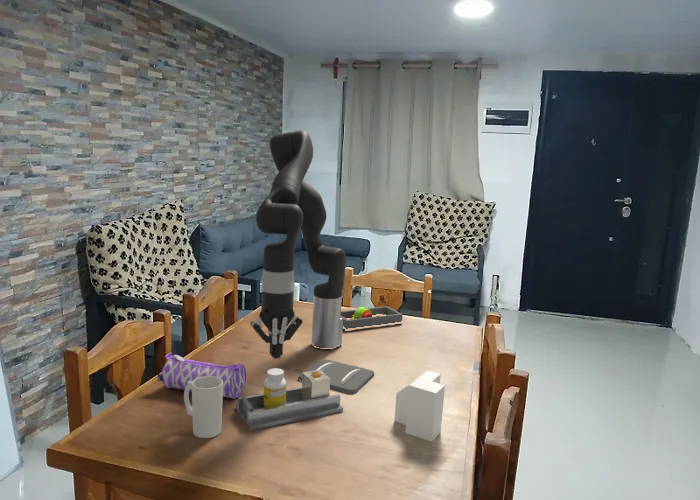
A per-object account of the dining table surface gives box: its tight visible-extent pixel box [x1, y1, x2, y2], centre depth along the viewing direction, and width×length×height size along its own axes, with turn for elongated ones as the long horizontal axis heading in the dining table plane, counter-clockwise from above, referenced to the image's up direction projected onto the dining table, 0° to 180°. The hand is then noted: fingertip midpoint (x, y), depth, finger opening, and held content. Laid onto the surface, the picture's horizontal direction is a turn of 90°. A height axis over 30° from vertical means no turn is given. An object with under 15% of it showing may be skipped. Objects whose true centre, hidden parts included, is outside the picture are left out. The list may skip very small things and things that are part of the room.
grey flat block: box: [297, 358, 375, 395], centre depth 156 cm, size 18×3×15 cm
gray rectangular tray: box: [341, 305, 403, 329], centre depth 205 cm, size 24×11×4 cm, turn 119°
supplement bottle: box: [263, 367, 287, 408], centre depth 133 cm, size 5×5×10 cm
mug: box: [183, 376, 224, 439], centre depth 123 cm, size 10×7×12 cm, turn 64°
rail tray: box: [235, 370, 344, 432], centre depth 135 cm, size 24×12×9 cm, turn 119°
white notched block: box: [394, 370, 446, 442], centre depth 131 cm, size 11×11×12 cm
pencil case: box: [157, 351, 247, 399], centre depth 143 cm, size 22×9×10 cm, turn 76°
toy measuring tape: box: [350, 306, 385, 320], centre depth 207 cm, size 6×20×7 cm, turn 133°
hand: (275, 357), depth 131 cm, fingers closed
